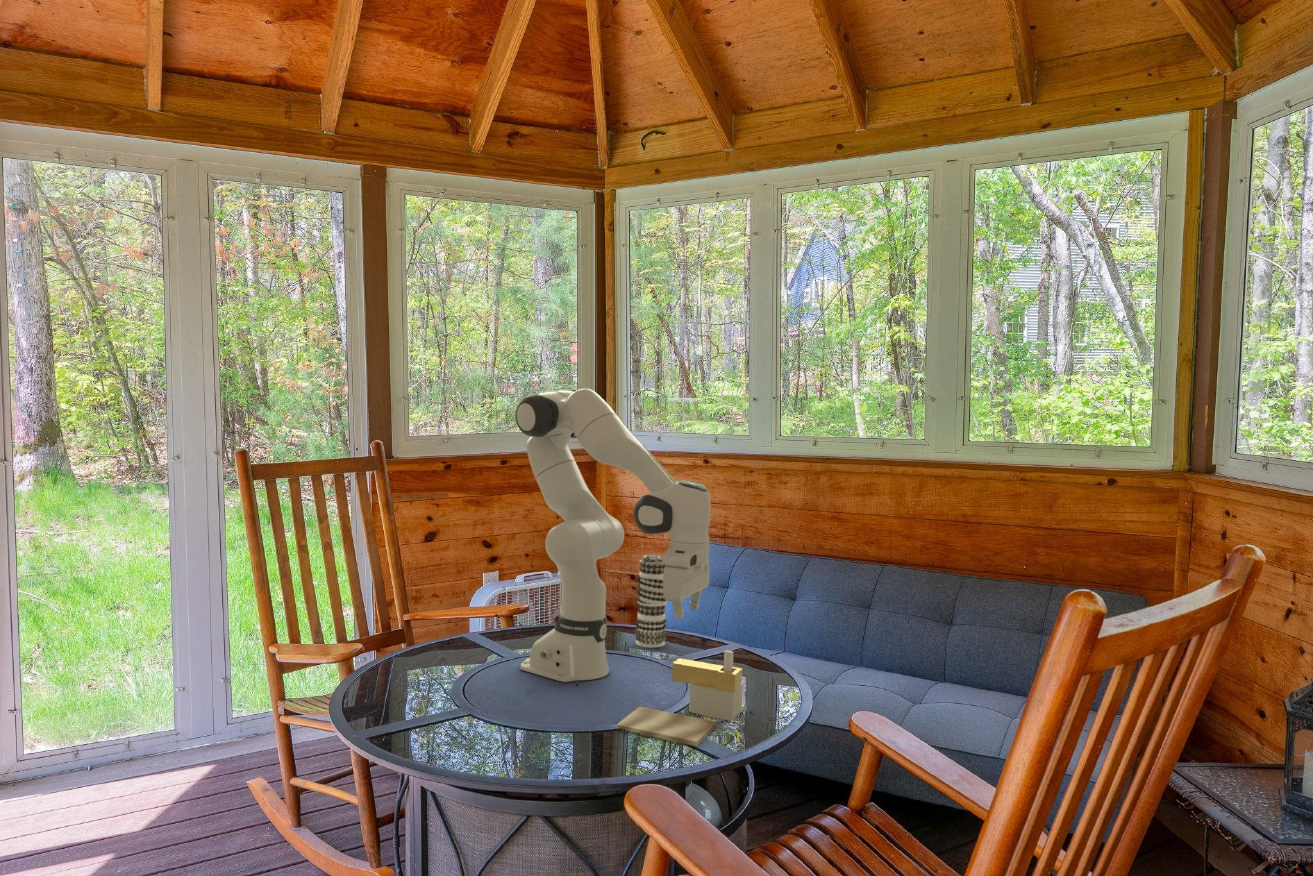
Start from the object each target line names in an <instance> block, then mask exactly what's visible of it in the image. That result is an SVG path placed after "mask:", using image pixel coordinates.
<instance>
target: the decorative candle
mask: <svg viewBox="0 0 1313 876" xmlns="http://www.w3.org/2000/svg"><path fill="white" fill-rule="evenodd" d="M662 557H663V555H660V554H645V555H643V557H642V559H640V560H639V562H640V565H639V566H640V568H639V569H640V570H639V574H638V575H637V576H638V577H636V582H637V585H636V588H637V589H636V594H637V595H638V596H637V597H636V600H637V601H636V602H637V604H638V611H637V617H636V623H635V627H636V629H635V645H637V646H639V647H643V648H661V647H663V646H665V643H666V642H665V640H666V634H667V631H666V630H665V629H666V628H667V626H666V624H665V623H667V619H666V611H665V610H666V605H667V602H668V601H666V600H665V598H664V595H663V572H664V568H665V566H666V565H663V564H662Z"/></svg>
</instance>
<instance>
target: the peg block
mask: <svg viewBox="0 0 1313 876" xmlns="http://www.w3.org/2000/svg"><path fill="white" fill-rule="evenodd" d="M723 657H724V658H723V666H724V671H726V672H731V673H733V667H734V651H733V650H725V651H724V655H723ZM743 686H744V685H743V684H741V687H740V688H739V689H738V690H737V691H736V692H735V693H733V692H728V691H722V690H717V689H716V688H711V687H705V686H700V685H694V684H690V686H689V700H688V701H689V702H688V703H689V705H688V706H689V707H688V708H689V709H688V712H689V711H690V712H692V713H691V714H693V713H698V714H700V715H699V716H703V715H704V717H710V718H715V719H719V720H722V721H723V720H724V721H729V722H732V721H734V719H735V718H737V716H738V715H739V714H740V713H741V712H742V706H743V705H742V703H743ZM698 714H697V715H698Z"/></svg>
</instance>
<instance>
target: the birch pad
mask: <svg viewBox="0 0 1313 876" xmlns="http://www.w3.org/2000/svg"><path fill="white" fill-rule="evenodd" d="M615 727H618V728H622V729H626V730H629V731H634V732H637V733H641V734H643V735H642V736H646V735H647V736H646V737H650V736H653V737H652V738H656V739H660V738H661V739H660V740H664V741H668V742H675V743H679V744H684V745H686V746H687V745H688V746H693V747H698V746H699V745H700V744H701V743H702V742H703V741H704V740H705V739H706V737H708V735H710V733H711V732H712V731H713V730H714V729H715V728H716V727H717V721H713V720H709V719H705V718H699V717H694V716H689V715H685V714H684V715H683V714H680V713H674V712H671V711H665V710H664V711H663V710H660V709H655V708H651V707H645V706H638V707H637V708H636V709H635V710H633V711H632V712H631V713H630V714H628V715H627V716H626V717H624V718H623V719H621V721H619V722H618V723H617V724H616V725H615ZM641 734H640V735H641ZM700 742H701V743H700ZM697 745H698V746H697Z"/></svg>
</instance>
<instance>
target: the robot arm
mask: <svg viewBox="0 0 1313 876" xmlns="http://www.w3.org/2000/svg"><path fill="white" fill-rule="evenodd" d="M514 417H515V423H516V425H517V428H518V429H519V431H520V432H521V433H522V434H524V435H525V436H528V437H529V438H528V439H527V442H526V448H525V449H526V452H527V456H528V462H529V464H530V467H531V470H532V474H533V475H534V479H535V481H536V482H537V486H538V487H539V489H540V492H541V494H542V496H543V499H544V502H545V503H546V505H547V507H548V508H549V509H550V510H551V511H553V512H555V513H556V514H558V515H559V516H560V517H561V518H562V520H563V522H560V523H559V524H557V525H555V526H553V527H552V528H551V529H550V530H549V531H548V532H547V534H546V536H545V541H544V542H545V543H544V545H545V551H546V554H547V555H548V557H549V559H550V560H551V562H552V561H553V562H554V564H555V565H556V567H557V568H556V569H557V571H558V575H559V578H560V584H561V609H560V610H561V611H560V614H558V615H556V616H555V617H554V618H551V622H550V623H551V624H554V628H553V629H551V630H549V631H548V632H546V633H545V634H544V635H542V636H541V637H540V638H538V639H537V640H536V641H535V642H534V643H533V644H532V646H531V651H530V654H529V655H530V656H529V657H528V658H526V659H524V660H523V661H522V662H521V663H520V667H519V668H520V670H521V671H524V672H528V673H532V674H535V675H539V676H542V677H545V678H549V679H552V680H555V681H559V682H562V683H568V682H569V683H570V682H575V681H589V680H596V679H600V678H604V677H606V676H607V675H608V674H609V673H610V667H609V665H608V658H607V653H606V652H607V651H606V650H607V649H606V638H607V630H608V628H607V626H608V625H607V623H608V621H607V615H606V602H607V601H606V600H607V586H606V583H605V582H604V581H603V580H602V579H601V577H600V576H599V573H598V568H597V561H598V560H601V559H604V558H608V557H610V555H613V554H614V553H616V552H617V551H618V550H619V549H620V548H621V547H622V545H623V544H624V541H625V530H624V527H623V525H622V523H621V522H620V521H619V520H618V519H617V518H616V517H613V516H612V515H610V514H609V513H608V512H607V511H606V509H604V507H603V506H602V505H601V503H599V501H598V500H597V498H596V497H595V496H594V495H593V493H592V492H591V491H590V489H589V487H588V485H587V484H586V481H585V479H584V477H583V474H582V473H581V470H580V469H579V466H578V465H577V462H576V459H575V457H574V455H573V454H572V452H571V449H570V444H569V442H570V438H572V439H577V440H578V441H579V443H580V445H581V446H582V448H583V449H584V450H585V452H586V453H588V455H589V456H591V458H592V459H594V460H595V461H597V462H598V463H600V464H604V465H607V466H613V467H617V468H619V469H623V470H625V471H628V472H630V473H632V474H633V475H635V477H637V478H638V479H639V480H640V481H641V483H642V484H643V485H644V486H645V488H647V490H648V491H649V492H650V493H647V494H645V495H642V496H641V497H639V498H638V500H637V501H636V503H635V504H634V505H635V506H634V509H633V518H634V521H635V524H636V526H637V527H638V528H639V530H640V531H641V532H642V533H645V534H648V535H653V536H654V535H656V536H657V535H662V534H668V535H669V536H670V537H669V538H670V539H669V540H670V543H669V546H668V548H667V549H666V551H665V553H663V555H662V556H663V557H662V564H663V565H666V566H665V568H664V572H663V595H664V598H665V600H666V602H671V604H672V605H671V606H672V608H673V618H674V619H676V620H681V619H683V618H684V617H685V616H684V615H685V614H684V613H685V609H683V604H684V600H685V599H687V598H690V601H689V606H688V608H689V610H691V611H696V610H698V609H699V605H700V603H699V602H700V599H701V596H702V590H703V589H706V588H708V587H709V585H710V578H711V577H710V573H711V572H710V569H711V567H710V565H711V564H710V558H709V556H710V553H709V552H710V537H709V527H710V524H711V515H712V514H711V513H712V511H711V510H712V509H711V507H712V506H711V495H710V491H709V488H708V487H706V486H705V485H704V484H702V483H701V482H697V481H694V480H688V479H687V480H683V479H682V480H678V481H676V480H675V479H674V478H673V477H672V475H670V473H669V472H668V471H667V470H666V469H665V467H664V466H663V465H662V464H661V463H660V462H659V461H658V459H656V457H655V456H654V455H653V453H651V452H650V451H649V449H647V448H646V447H645V446H644V444H642V443H641V442H640V441H639V440H638V439H637V438H636V437H635V436H634V435H633V434H632V433H631V431H630V430H629V429H628V428H627V427H626V426H625V425H624V423H623V422H622V420H621V419H620V417H618V415H617V414H616V412H615V411H614V410H613V409H612V407H611V406H610V405H609V404H608V403H607V402H606V401H605V399H603V398H602V397H601V395H599V394H598V393H597V392H596V391H594V390H593V389H590V388H581V389H569V390H552V391H551V390H550V391H548V392H543V393H539V394H537V393H536V394H535V393H534V394H530V395H527V396H525V397H523V398H522V399H520V400H519V402H518V403H517V405H516V407H515V416H514Z"/></svg>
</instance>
